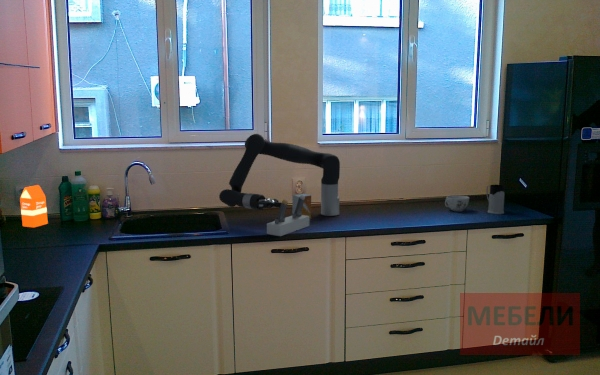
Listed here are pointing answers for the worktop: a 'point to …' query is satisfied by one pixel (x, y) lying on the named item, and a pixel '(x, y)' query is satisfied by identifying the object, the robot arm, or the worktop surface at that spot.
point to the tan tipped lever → (282, 210)
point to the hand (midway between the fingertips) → (282, 205)
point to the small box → (306, 205)
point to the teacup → (457, 202)
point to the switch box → (287, 225)
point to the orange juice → (33, 207)
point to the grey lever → (299, 205)
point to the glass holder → (496, 199)
